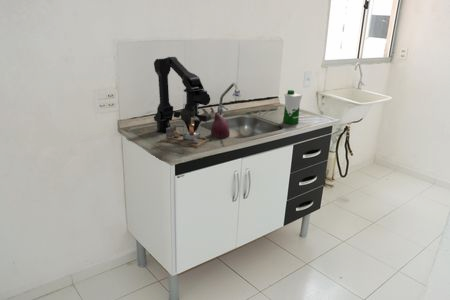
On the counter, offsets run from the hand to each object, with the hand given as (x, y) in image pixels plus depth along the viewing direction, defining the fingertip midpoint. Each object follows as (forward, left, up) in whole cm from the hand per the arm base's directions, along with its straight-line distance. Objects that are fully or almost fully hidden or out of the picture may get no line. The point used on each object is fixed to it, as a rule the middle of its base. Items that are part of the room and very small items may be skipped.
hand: (192, 132), depth 186 cm
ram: (0, 0, -4) cm, 4 cm away
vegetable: (+8, +18, -6) cm, 20 cm away
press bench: (-3, 0, -6) cm, 6 cm away
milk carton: (+35, +66, -6) cm, 75 cm away
